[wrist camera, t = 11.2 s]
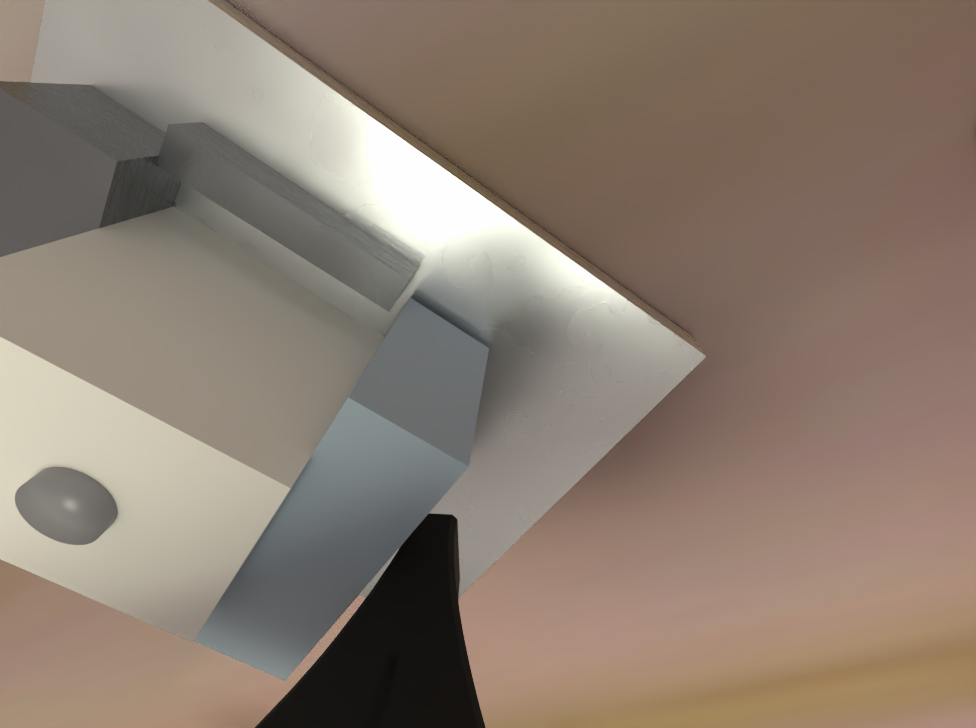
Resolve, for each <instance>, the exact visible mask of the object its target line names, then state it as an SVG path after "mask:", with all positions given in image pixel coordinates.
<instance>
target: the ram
mask: <svg viewBox="0 0 976 728" xmlns="http://www.w3.org/2000/svg"><path fill="white" fill-rule="evenodd" d="M488 352H489V348H488V347H486V346H485V345H483V344H482V343H480V342H479V341H477V340H475V339H474V338H472V337H471V336H469V335H468V334H466V333H465V332H463V331H461V330H460V329H458V328H457V327H455V326H454V325H452V324H451V323H449V322H447V321H446V320H444V319H443V318H441V317H440V316H438V315H437V314H435V313H433V312H432V311H430V310H429V309H427V308H426V307H424V306H423V305H421V304H419V303H418V302H416V301H415V300H413V299H412V298H409V300H408V302H407V303H406V305H405V306H404V308H403V309H402V311H401V313H400V314H399V316H398V317H397V319H396V320H395V322H394V324H393V325H392V327H391V328H390V330H389V331H388V333H387V335H386V336H385V338H384V339H383V341H382V342H381V344H380V346H379V347H378V349H377V350H376V352H375V354H374V355H373V357H372V358H371V360H370V362H369V363H368V365H367V366H366V368H365V370H364V371H363V373H362V374H361V376H360V378H359V379H358V381H357V383H356V384H355V386H354V387H353V389H352V391H351V392H350V394H349V395H348V397H347V399H346V400H345V402H344V403H343V405H342V407H341V408H340V410H339V411H338V413H337V415H336V416H335V418H334V419H333V421H332V423H331V424H330V426H329V427H328V429H327V431H326V432H325V434H324V435H323V437H322V439H321V440H320V442H319V443H318V445H317V447H316V448H315V450H314V452H313V453H312V455H311V457H310V459H309V460H308V462H307V463H306V465H305V467H304V468H303V470H302V471H301V473H300V475H299V476H298V478H297V480H296V481H295V483H294V484H293V486H292V488H291V489H290V491H289V492H288V494H287V495H286V497H285V499H284V500H283V502H282V503H281V505H280V506H279V508H278V509H277V511H276V513H275V514H274V516H273V517H272V519H271V520H270V522H269V524H268V525H267V527H266V528H265V530H264V531H263V533H262V534H261V536H260V538H259V539H258V541H257V542H256V544H255V545H254V547H253V549H252V550H251V552H250V553H249V555H248V556H247V558H246V559H245V561H244V563H243V564H242V566H241V567H240V569H239V570H238V572H237V574H236V575H235V577H234V578H233V580H232V581H231V583H230V584H229V586H228V588H227V589H226V591H225V592H224V594H223V595H222V597H221V599H220V600H219V602H218V603H217V605H216V606H215V608H214V609H213V611H212V613H211V614H210V616H209V617H208V619H207V620H206V622H205V624H204V625H203V627H202V628H201V630H200V631H199V633H198V634H197V636H196V638H195V639H194V641H195V642H197V643H200V644H202V645H204V646H207V647H209V648H211V649H213V650H216V651H218V652H220V653H223V654H225V655H227V656H230V657H232V658H234V659H236V660H239V661H241V662H243V663H246V664H248V665H250V666H252V667H255V668H257V669H259V670H262V671H264V672H266V673H269V674H271V675H273V676H275V677H278V678H280V679H282V680H286V679H287V678H288V676H289V675H290V674H291V673H292V672H293V671H294V669H295V668H296V667H297V666H298V665H299V664H300V662H301V661H302V660H303V659H304V658H305V657H306V655H307V654H308V653H309V652H310V651H311V650H312V649H313V647H314V646H315V645H316V644H317V643H318V642H319V640H320V639H321V638H322V637H323V636H324V635H325V633H326V632H327V631H328V630H329V629H330V628H331V626H332V625H333V624H334V623H335V622H336V621H337V619H338V618H339V617H340V616H341V615H342V614H343V612H344V611H345V610H346V609H347V608H348V607H349V606H350V604H351V603H352V602H353V601H354V600H355V599H356V597H357V596H358V595H359V594H360V593H361V592H362V590H363V589H364V588H365V587H366V586H367V585H368V583H369V582H370V581H371V580H372V579H373V578H374V576H375V575H376V574H377V573H378V572H379V571H380V570H381V568H382V567H383V566H384V565H385V564H386V563H387V561H388V560H389V559H390V558H391V557H392V556H393V554H394V553H395V552H396V551H397V550H398V549H399V547H400V546H401V545H402V544H403V543H404V542H405V540H406V539H407V538H408V537H409V536H410V535H411V533H412V532H413V531H414V530H415V529H416V528H417V527H418V525H419V524H420V523H421V522H422V521H423V520H424V518H425V517H426V516H427V515H428V514H429V513H430V511H431V510H432V509H433V508H434V507H435V506H436V504H437V503H438V502H439V501H440V500H441V499H442V497H443V496H444V495H445V494H446V493H447V492H448V490H449V489H450V488H451V487H452V486H453V485H454V484H455V482H456V481H457V480H458V479H459V478H460V477H461V475H462V474H463V473H464V472H465V471H466V470H467V468H468V467H469V463H470V457H471V451H472V445H473V439H474V434H475V428H476V422H477V416H478V410H479V404H480V399H481V393H482V387H483V381H484V375H485V370H486V364H487V358H488Z"/></svg>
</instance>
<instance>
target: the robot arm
mask: <svg viewBox="0 0 976 728" xmlns="http://www.w3.org/2000/svg"><path fill="white" fill-rule="evenodd" d="M459 584H460V568H459V545H458V521H457V518H456V517H454V516H453V515H451V514H432V513H429V514H428V515H427V516H426V517H425V518H424V520H423V521H422V522H421V523H420V524H419V525H418V527H417V528H416V529H415V530H414V531H413V532H412V533H411V535H410V536H409V537H408V538H407V539H406V540H405V542H404V543H403V544H402V545H401V547H400V548H399V550H398V552H397V553H396V555H395V556H394V558H393V559H392V561H391V562H390V564H389V566H388V567H387V569H386V570H385V571H384V573H383V574H382V576H381V577H380V579H379V580H378V582H377V583H376V584H375V586H374V587H373V589H372V590H371V592H370V593H369V595H368V596H367V597H366V599H365V600H364V602H363V603H362V604H361V606H360V607H359V608H358V610H357V611H356V612H355V613H354V615H353V616H352V617H351V619H350V620H349V621H348V622H347V624H346V625H345V626H344V628H343V629H342V630H341V632H340V633H339V634H338V635H337V637H336V638H335V639H334V641H333V642H332V643H331V644H330V645H329V647H328V648H327V649H326V650H325V651H324V653H323V654H322V655H321V656H320V657H319V659H318V660H317V661H316V662H315V663H314V664H313V666H312V667H311V668H310V669H309V670H308V671H307V672H306V674H305V675H304V676H303V677H302V678H301V679H300V680H299V681H298V683H297V684H296V685H295V686H294V687H293V688H292V689H291V690H290V691H289V692H288V694H287V695H286V696H285V697H284V698H283V699H282V700H281V701H280V702H279V703H278V704H277V705H276V706H275V707H274V708H273V709H272V710H271V711H270V712H269V713H268V715H267V716H266V717H265V718H264V719H263V720H262V721H261V722H260V723H259V724H258V725H257V726H256V727H255V728H485V725H484V721H483V717H482V714H481V710H480V706H479V702H478V698H477V694H476V690H475V686H474V682H473V678H472V674H471V669H470V665H469V660H468V656H467V651H466V646H465V640H464V635H463V630H462V624H461V618H460V612H459V605H458V596H459Z"/></svg>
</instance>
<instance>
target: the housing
mask: <svg viewBox="0 0 976 728" xmlns="http://www.w3.org/2000/svg"><path fill="white" fill-rule="evenodd" d="M384 338H385V337H384V336H383V335H381V334H379V333H378V332H376V331H374V330H373V329H371V328H370V327H368V326H366V325H365V324H363V323H361V322H360V321H358V320H357V319H355V318H353V317H352V316H350V315H348V314H347V313H345V312H344V311H342V310H340V309H339V308H337V307H335V306H334V305H332V304H331V303H329V302H327V301H326V300H324V299H322V298H321V297H319V296H318V295H316V294H314V293H313V292H311V291H309V290H308V289H306V288H305V287H303V286H301V285H300V284H298V283H297V282H295V281H293V280H292V279H290V278H288V277H287V276H285V275H284V274H282V273H280V272H279V271H277V270H275V269H274V268H272V267H271V266H269V265H267V264H266V263H264V262H262V261H261V260H259V259H258V258H256V257H254V256H253V255H251V254H249V253H248V252H246V251H245V250H243V249H241V248H240V247H238V246H236V245H235V244H233V243H232V242H230V241H228V240H227V239H225V238H223V237H222V236H220V235H219V234H217V233H215V232H214V231H212V230H210V229H209V228H207V227H206V226H204V225H202V224H201V223H199V222H197V221H196V220H194V219H193V218H191V217H189V216H188V215H186V214H184V213H183V212H181V211H180V210H178V209H176V208H175V207H170V208H167V209H164V210H160V211H157V212H153V213H150V214H146V215H143V216H140V217H136V218H133V219H129V220H126V221H123V222H119V223H116V224H112V225H109V226H106V227H102V228H98V229H95V230H91V231H88V232H85V233H81V234H78V235H74V236H71V237H67V238H64V239H61V240H57V241H54V242H50V243H47V244H44V245H40V246H37V247H33V248H30V249H26V250H23V251H20V252H16V253H13V254H9V255H6V256H3V257H0V559H1V560H3V561H6V562H8V563H10V564H13V565H15V566H17V567H20V568H22V569H24V570H27V571H29V572H31V573H33V574H36V575H38V576H40V577H43V578H45V579H47V580H50V581H52V582H54V583H56V584H59V585H61V586H63V587H66V588H68V589H70V590H73V591H75V592H77V593H79V594H82V595H84V596H86V597H89V598H91V599H93V600H96V601H98V602H100V603H102V604H105V605H107V606H109V607H112V608H114V609H116V610H119V611H121V612H123V613H125V614H128V615H130V616H132V617H135V618H137V619H139V620H142V621H144V622H146V623H149V624H151V625H153V626H155V627H158V628H160V629H162V630H165V631H167V632H169V633H172V634H174V635H176V636H178V637H181V638H183V639H185V640H188V641H190V642H193V641H194V639H195V638H196V636H197V634H198V633H199V631H200V630H201V628H202V627H203V625H204V624H205V622H206V620H207V619H208V617H209V616H210V614H211V613H212V611H213V609H214V608H215V606H216V605H217V603H218V602H219V600H220V599H221V597H222V595H223V594H224V592H225V591H226V589H227V588H228V586H229V584H230V583H231V581H232V580H233V578H234V577H235V575H236V574H237V572H238V570H239V569H240V567H241V566H242V564H243V563H244V561H245V559H246V558H247V556H248V555H249V553H250V552H251V550H252V549H253V547H254V545H255V544H256V542H257V541H258V539H259V538H260V536H261V534H262V533H263V531H264V530H265V528H266V527H267V525H268V524H269V522H270V520H271V519H272V517H273V516H274V514H275V513H276V511H277V509H278V508H279V506H280V505H281V503H282V502H283V500H284V499H285V497H286V495H287V494H288V492H289V491H290V489H291V488H292V486H293V484H294V483H295V481H296V480H297V478H298V476H299V475H300V473H301V471H302V470H303V468H304V467H305V465H306V463H307V462H308V460H309V459H310V457H311V455H312V453H313V452H314V450H315V448H316V447H317V445H318V443H319V442H320V440H321V439H322V437H323V435H324V434H325V432H326V431H327V429H328V427H329V426H330V424H331V423H332V421H333V419H334V418H335V416H336V415H337V413H338V411H339V410H340V408H341V407H342V405H343V403H344V402H345V400H346V399H347V397H348V395H349V394H350V392H351V391H352V389H353V387H354V386H355V384H356V383H357V381H358V379H359V378H360V376H361V374H362V373H363V371H364V370H365V368H366V366H367V365H368V363H369V362H370V360H371V358H372V357H373V355H374V354H375V352H376V350H377V349H378V347H379V346H380V344H381V342H382V341H383V339H384Z"/></svg>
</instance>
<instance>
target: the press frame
mask: <svg viewBox="0 0 976 728" xmlns="http://www.w3.org/2000/svg"><path fill="white" fill-rule="evenodd" d="M170 207H175V208H176V209H178V210H180V211H181V212H183V213H184V214H186V215H188V216H189V217H191V218H193V219H194V220H196V221H197V222H199V223H201V224H202V225H204V226H206V227H207V228H209V229H210V230H212V231H214V232H215V233H217V234H219V235H220V236H222V237H223V238H225V239H227V240H228V241H230V242H232V243H233V244H235V245H236V246H238V247H240V248H241V249H243V250H245V251H246V252H248V253H249V254H251V255H253V256H254V257H256V258H258V259H259V260H261V261H262V262H264V263H266V264H267V265H269V266H271V267H272V268H274V269H275V270H277V271H279V272H280V273H282V274H284V275H285V276H287V277H288V278H290V279H292V280H293V281H295V282H297V283H298V284H300V285H301V286H303V287H305V288H306V289H308V290H309V291H311V292H313V293H314V294H316V295H318V296H319V297H321V298H322V299H324V300H326V301H327V302H329V303H331V304H332V305H334V306H335V307H337V308H339V309H340V310H342V311H344V312H345V313H347V314H348V315H350V316H352V317H353V318H355V319H357V320H358V321H360V322H361V323H363V324H365V325H366V326H368V327H370V328H371V329H373V330H374V331H376V332H378V333H379V334H381V335H383V336H384V337H385V336H386V335H387V333H388V331H389V330H390V328H391V327H392V325H393V324H394V322H395V320H396V319H397V317H398V316H399V314H400V313H401V311H402V309H403V308H404V306H405V305H406V303H407V302H408V300H409V298H412V299H413V300H415V301H416V302H418V303H419V304H421V305H423V306H424V307H426V308H427V309H429V310H430V311H432V312H433V313H435V314H437V315H438V316H440V317H441V318H443V319H444V320H446V321H447V322H449V323H451V324H452V325H454V326H455V327H457V328H458V329H460V330H461V331H463V332H465V333H466V334H468V335H469V336H471V337H472V338H474V339H475V340H477V341H479V342H480V343H482V344H483V345H485V346H486V347H488V348H489V352H488V358H487V364H486V370H485V375H484V381H483V387H482V393H481V399H480V404H479V410H478V416H477V422H476V428H475V434H474V439H473V445H472V451H471V457H470V463H469V467H468V468H467V470H466V471H465V472H464V473H463V474H462V475H461V477H460V478H459V479H458V480H457V481H456V482H455V484H454V485H453V486H452V487H451V488H450V489H449V490H448V492H447V493H446V494H445V495H444V496H443V497H442V499H441V500H440V501H439V502H438V503H437V504H436V506H435V507H434V508H433V509H432V510H431V511H430V513H432V514H451V515H453V516H454V517H456V518H457V521H458V545H459V568H460V584H459V596H458V598H459V597H460V596H461V595H462V594H463V593H464V592H465V591H466V590H467V589H468V588H469V587H470V586H471V585H472V584H473V583H474V582H475V581H476V580H477V579H478V578H479V577H480V576H481V575H482V574H483V573H484V572H485V571H486V570H487V569H489V568H490V567H491V566H492V565H493V564H494V563H495V562H496V561H497V560H498V559H499V558H500V557H501V556H502V555H503V554H504V553H505V552H506V551H507V550H508V549H509V548H510V547H511V546H512V545H513V544H514V543H515V542H516V541H517V540H518V539H519V538H520V537H521V536H522V535H523V534H524V533H526V532H527V531H528V530H529V529H530V528H531V527H532V526H533V525H534V524H535V523H536V522H537V521H538V520H539V519H540V518H541V517H542V516H543V515H544V514H545V513H546V512H547V511H548V510H549V509H550V508H551V507H552V506H553V505H554V504H555V503H556V502H557V501H558V500H559V499H560V498H561V497H563V496H564V495H565V494H566V493H567V492H568V491H569V490H570V489H571V488H572V487H573V486H574V485H575V484H576V483H577V482H578V481H579V480H580V479H581V478H582V477H583V476H584V475H585V474H586V473H587V472H588V471H589V470H590V469H591V468H592V467H593V466H594V465H595V464H596V463H597V462H598V461H600V460H601V459H602V458H603V457H604V456H605V455H606V454H607V453H608V452H609V451H610V450H611V449H612V448H613V447H614V446H615V445H616V444H617V443H618V442H619V441H620V440H621V439H622V438H623V437H624V436H625V435H626V434H627V433H628V432H629V431H630V430H631V429H632V428H633V427H634V426H635V425H636V424H638V423H639V422H640V421H641V420H642V419H643V418H644V417H645V416H646V415H647V414H648V413H649V412H650V411H651V410H652V409H653V408H654V407H655V406H656V405H657V404H658V403H659V402H660V401H661V400H662V399H663V398H664V397H665V396H666V395H667V394H668V393H669V392H670V391H671V390H672V389H673V388H675V387H676V386H677V385H678V384H679V383H680V382H681V381H682V380H683V379H684V378H685V377H686V376H687V375H688V374H689V373H690V372H691V371H692V370H693V369H694V368H695V367H696V366H697V365H698V364H699V363H700V362H701V361H702V360H703V359H704V358H705V357H706V355H705V353H704V352H703V350H702V349H701V348H700V346H699V345H698V343H697V342H696V340H695V339H694V337H692V336H691V335H690V334H688V333H687V332H685V331H684V330H683V329H681V328H680V327H679V326H677V325H676V324H674V323H673V322H672V321H670V320H669V319H667V318H666V317H665V316H663V315H662V314H660V313H659V312H658V311H656V310H655V309H653V308H652V307H651V306H649V305H648V304H647V303H645V302H644V301H642V300H641V299H640V298H638V297H637V296H635V295H634V294H633V293H631V292H630V291H628V290H627V289H626V288H624V287H623V286H622V285H620V284H619V283H617V282H616V281H615V280H613V279H612V278H610V277H609V276H608V275H606V274H605V273H603V272H602V271H601V270H599V269H598V268H596V267H595V266H594V265H592V264H591V263H590V262H588V261H587V260H585V259H584V258H583V257H581V256H580V255H578V254H577V253H576V252H574V251H573V250H571V249H570V248H569V247H567V246H566V245H564V244H563V243H562V242H560V241H559V240H558V239H556V238H555V237H553V236H552V235H551V234H549V233H548V232H546V231H545V230H544V229H542V228H541V227H539V226H538V225H537V224H535V223H534V222H533V221H531V220H530V219H528V218H527V217H526V216H524V215H523V214H521V213H520V212H519V211H517V210H516V209H514V208H513V207H512V206H510V205H509V204H507V203H506V202H505V201H503V200H502V199H501V198H499V197H498V196H496V195H495V194H494V193H492V192H491V191H489V190H488V189H487V188H485V187H484V186H482V185H481V184H480V183H478V182H477V181H475V180H474V179H473V178H471V177H470V176H469V175H467V174H466V173H464V172H463V171H462V170H460V169H459V168H457V167H456V166H455V165H453V164H452V163H450V162H449V161H448V160H446V159H445V158H444V157H442V156H441V155H439V154H438V153H437V152H435V151H434V150H432V149H431V148H430V147H428V146H427V145H425V144H424V143H423V142H421V141H420V140H418V139H417V138H416V137H414V136H413V135H412V134H410V133H409V132H407V131H406V130H405V129H403V128H402V127H400V126H399V125H398V124H396V123H395V122H393V121H392V120H391V119H389V118H388V117H386V116H385V115H384V114H382V113H381V112H380V111H378V110H377V109H375V108H374V107H373V106H371V105H370V104H368V103H367V102H366V101H364V100H363V99H361V98H360V97H359V96H357V95H356V94H355V93H353V92H352V91H350V90H349V89H348V88H346V87H345V86H343V85H342V84H341V83H339V82H338V81H336V80H335V79H334V78H332V77H331V76H329V75H328V74H327V73H325V72H324V71H323V70H321V69H320V68H318V67H317V66H316V65H314V64H313V63H311V62H310V61H309V60H307V59H306V58H304V57H303V56H302V55H300V54H299V53H297V52H296V51H295V50H293V49H292V48H291V47H289V46H288V45H286V44H285V43H284V42H282V41H281V40H279V39H278V38H277V37H275V36H274V35H272V34H271V33H270V32H268V31H267V30H266V29H264V28H263V27H261V26H260V25H259V24H257V23H256V22H254V21H253V20H252V19H250V18H249V17H247V16H246V15H245V14H243V13H242V12H240V11H239V10H238V9H236V8H235V7H234V6H232V5H231V4H229V3H228V2H227V1H225V0H45V5H44V11H43V16H42V22H41V28H40V33H39V39H38V44H37V50H36V55H35V61H34V67H33V72H32V78H31V83H30V82H3V81H0V257H3V256H6V255H9V254H13V253H16V252H20V251H23V250H26V249H30V248H33V247H37V246H40V245H44V244H47V243H50V242H54V241H57V240H61V239H64V238H67V237H71V236H74V235H78V234H81V233H85V232H88V231H91V230H95V229H98V228H102V227H106V226H109V225H112V224H116V223H119V222H123V221H126V220H129V219H133V218H136V217H140V216H143V215H146V214H150V213H153V212H157V211H160V210H164V209H167V208H170ZM400 547H401V546H400ZM400 547H399V548H400ZM398 550H399V549H398ZM398 550H397V551H396V552H395V553H394V554H393V556H392V557H391V558H390V559H389V560H388V561H387V563H386V564H385V565H384V566H383V567H382V568H381V570H380V571H379V572H378V573H377V574H376V575H375V576H374V578H373V579H372V580H371V581H370V582H369V583H368V585H367V586H366V587H365V588H364V589H363V590H362V592H361V593H360V595H362V596H364V597H367V596H368V595H369V593H370V592H371V590H372V589H373V587H374V586H375V584H376V583H377V582H378V580H379V579H380V577H381V576H382V574H383V573H384V571H385V570H386V569H387V567H388V566H389V564H390V562H391V561H392V559H393V558H394V556H395V555H396V553H397V552H398Z"/></svg>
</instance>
